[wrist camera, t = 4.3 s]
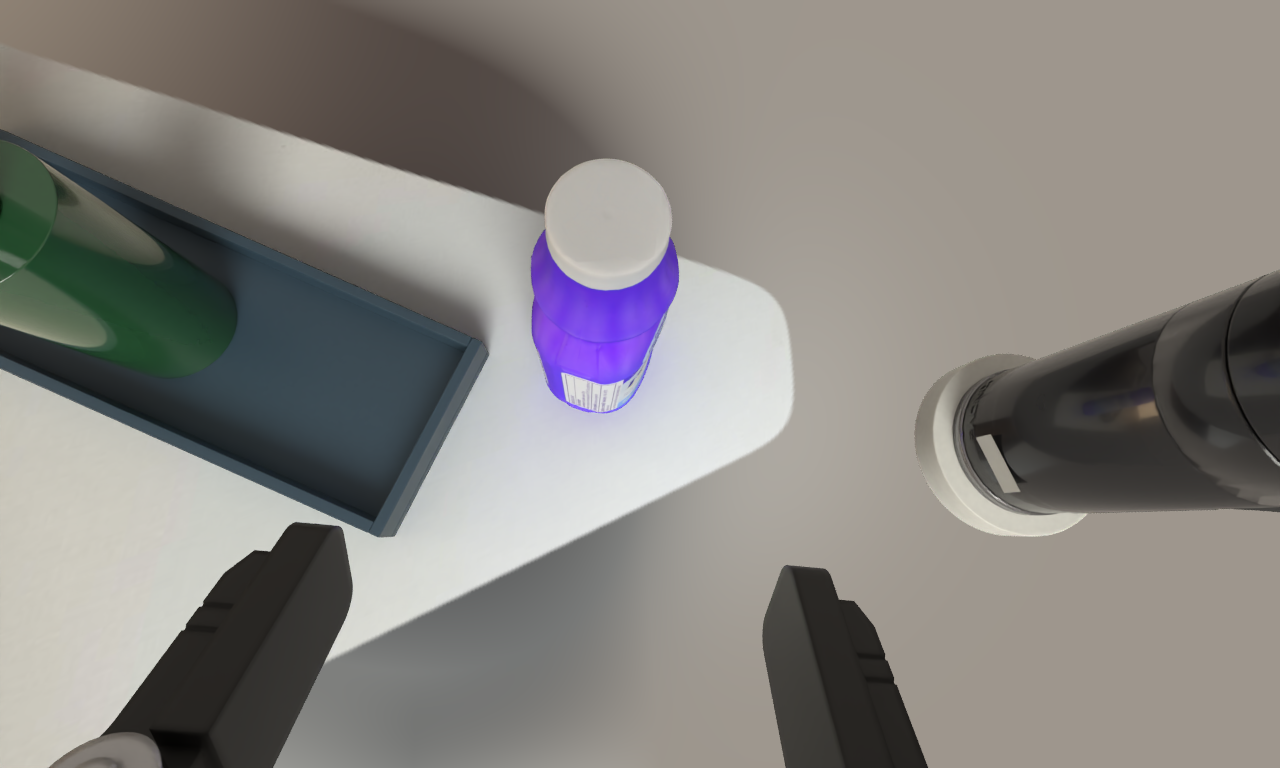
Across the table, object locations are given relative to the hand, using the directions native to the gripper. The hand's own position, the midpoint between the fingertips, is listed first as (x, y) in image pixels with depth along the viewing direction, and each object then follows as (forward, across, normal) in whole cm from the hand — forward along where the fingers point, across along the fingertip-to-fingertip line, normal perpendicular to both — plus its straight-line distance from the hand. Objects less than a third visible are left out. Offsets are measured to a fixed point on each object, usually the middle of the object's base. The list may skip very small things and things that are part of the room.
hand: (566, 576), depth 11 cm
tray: (+23, -23, -9) cm, 34 cm away
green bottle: (+23, -23, -9) cm, 34 cm away
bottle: (+24, 0, -9) cm, 25 cm away
